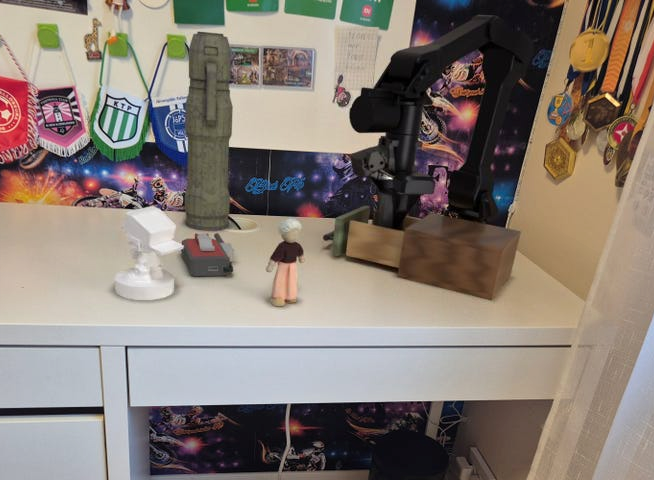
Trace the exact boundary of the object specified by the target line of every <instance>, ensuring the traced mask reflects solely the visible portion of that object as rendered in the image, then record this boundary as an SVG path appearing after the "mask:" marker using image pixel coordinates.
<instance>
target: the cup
mask: <svg viewBox="0 0 654 480" xmlns="http://www.w3.org/2000/svg"><path fill="white" fill-rule="evenodd" d="M375 210H376V214H375V221H374V225H376V226H380V227H385V228H390V229H394V230H399V231H403V229H404V222H405V219H404V220H403V222H402V223H401V224H400V226H399V227H393V196H392V195H391V193H390V192H389V191H388V190H380V191H379V192H378V199H377V202H376V207H375Z"/></svg>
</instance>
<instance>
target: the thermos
mask: <svg viewBox="0 0 654 480" xmlns="http://www.w3.org/2000/svg"><path fill="white" fill-rule="evenodd" d="M196 32H197V33H193V34H192V37H191V41H190V44H189V48H188V79H189V86H188V93H187V97H186V100H185V103H184V104H185V105H184V107H185V108H184V109H185V110H184V117H185V118H184V121H185V123H184V124H185V125H184V129H185V130H184V132H185V135H186V137H187V185H186V188H185V193H184V212H185V225H186V227H189V228H191V229H195V230H200V231H221V230H226V229H227V228H228V227H229V215H230V212H231V211H230V208H231V197H230V192H229V188H228V184H229V157H230V154H229V153H230V140H231V137H232V135H233V109H234V108H233V107H234V106H233V104H232V103H233V102H232V99H231V90H230V82H231V71H232V70H231V69H232V66H231V65H232V52H231V50H232V49H231V46H230V43H229V39H228V36H224V33H218V32H207V31H196Z"/></svg>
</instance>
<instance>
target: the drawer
mask: <svg viewBox="0 0 654 480" xmlns="http://www.w3.org/2000/svg"><path fill="white" fill-rule="evenodd" d="M370 213H371V206H370V205H362V206H361V207H358V208H356V209H353V210H351V211H349V212H346V213H344V214H341V215H339V216H337V217H335V221H334V229H333V230H332V231H330V232H328V233H326V234H323V236H322V239H323V241H324V242H328V241H332V248H331V255H332V256H336V257H338V256H340V255H342V254H344V253H345V256H347V257H352V258H356V259H360V260H364V261H369V262H372V263H377V264H381V265H385V266H389V267H393V268H397V269H399V263H400V257H401V251H402V245H403V239H404V232H405V228H407V227H409V226H410V225H412V224H414V223H416V222H417V221H419V220H421V219H422V218H419V217H414V216H410V215H407V216H406V217H405V222H404V229H403V231H399V230H394V229H390V228H385V227H380V226H376V225H374V221H375V214H376V209H373V214H372V221H371V224H370V223H369V222H370V221H369V220H370Z"/></svg>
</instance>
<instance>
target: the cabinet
mask: <svg viewBox="0 0 654 480" xmlns="http://www.w3.org/2000/svg"><path fill="white" fill-rule="evenodd" d="M420 219H421V220H419V221H417V222H416V223H414V224H412V225H410V226H409V227H407V228H405V232H404V239H403V245H402V251H401V257H400V263H399V268H398V269H397V270H398V271H397V278H401V279H404V280H409V281H413V282H416V283H420V284H425V285H429V286H434V287H438V288H441V289H446V290H449V291H454V292H458V293H462V294H465V295H470V296H474V297H478V298H483V299H486V300H491V301H492V300H493V299H494V298H495V296H496V295H497V294H498V293H499V292H500V290H501V289H502V288H503V286H504V285H505V284H506V283H507V282H508V280H509V279H510V278H511V275H512V271H513V267H514V263H515V259H516V254H517V250H518V246H519V242H520V238H521V234H522V231H521V230H517V229H512V228H507V227H504V226H503V227H502V226H497V225H492V224H487V223H485V224H483V223H478V222H473V221H468V220H463V219H458V218H457V217H453V216H447V215H442V214H437V213H432V212H431V213H430V214H427V215H426V216H425V217H422V218H420Z"/></svg>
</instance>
